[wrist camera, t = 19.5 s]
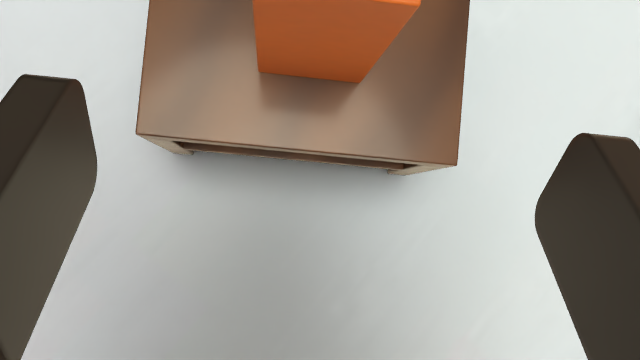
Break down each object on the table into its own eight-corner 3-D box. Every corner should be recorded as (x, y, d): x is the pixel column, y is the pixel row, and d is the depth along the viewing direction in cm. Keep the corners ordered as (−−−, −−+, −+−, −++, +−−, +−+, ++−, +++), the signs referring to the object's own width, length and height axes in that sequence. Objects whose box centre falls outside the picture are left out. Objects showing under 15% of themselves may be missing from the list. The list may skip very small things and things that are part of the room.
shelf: (172, 153, 32) (134, 134, 23) (191, -31, 32) (161, -120, 23) (406, 175, 33) (457, 166, 24) (420, -2, 33) (476, -76, 25)
